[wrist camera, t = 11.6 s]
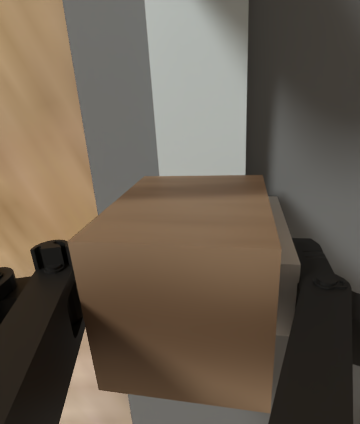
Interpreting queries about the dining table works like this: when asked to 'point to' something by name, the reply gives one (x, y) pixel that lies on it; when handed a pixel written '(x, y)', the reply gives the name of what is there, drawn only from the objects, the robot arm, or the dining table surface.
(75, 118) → the dining table surface
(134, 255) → the block
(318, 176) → the mat
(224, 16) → the grey stepped bracket
